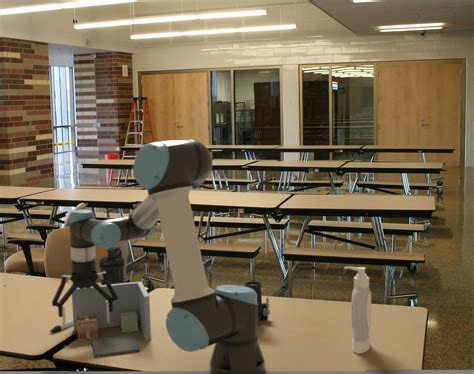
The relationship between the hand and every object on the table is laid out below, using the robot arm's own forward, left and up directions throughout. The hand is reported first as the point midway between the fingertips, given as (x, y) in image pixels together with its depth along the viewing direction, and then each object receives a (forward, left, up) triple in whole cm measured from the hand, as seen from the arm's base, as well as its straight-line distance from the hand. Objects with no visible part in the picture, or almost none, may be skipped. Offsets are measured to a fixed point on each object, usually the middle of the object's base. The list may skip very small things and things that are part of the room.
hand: (86, 323), depth 200 cm
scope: (-7, -54, -4) cm, 55 cm away
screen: (-2, -8, -4) cm, 9 cm away
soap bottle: (-37, -76, -4) cm, 85 cm away
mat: (-12, -8, -4) cm, 15 cm away
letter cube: (0, 0, -4) cm, 4 cm away
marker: (+11, +6, -4) cm, 13 cm away
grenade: (+34, -12, -4) cm, 36 cm away
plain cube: (+2, -14, -4) cm, 14 cm away
